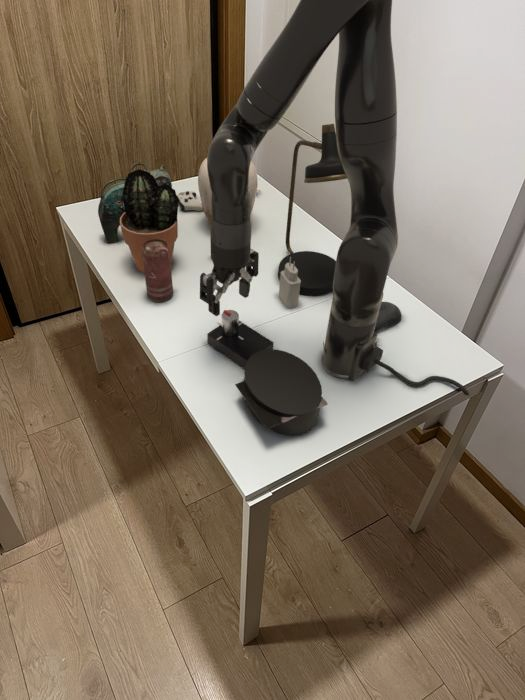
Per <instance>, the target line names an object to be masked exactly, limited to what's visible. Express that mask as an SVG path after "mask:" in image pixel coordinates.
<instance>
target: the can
mask: <svg viewBox="0 0 525 700" xmlns="http://www.w3.org/2000/svg"><path fill="white" fill-rule="evenodd" d="M142 258H143V266H144V272H143V273H144V281H145V288H146V295H147V297H148V299H149V300H150V301H152V302H154V303H165V302H168V301H170V300H171V298H172V297H173V296H174V286H173V284H174V283H173V274H172V263H171V262H170V251H169V246H168V245H167V243H166V242H165V241H163V240H160V239H152V240H148V241H146V242H145V243H144V244H143V247H142Z"/></svg>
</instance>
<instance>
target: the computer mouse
mask: <svg viewBox="0 0 525 700" xmlns="http://www.w3.org/2000/svg"><path fill="white" fill-rule="evenodd" d="M401 320H402V312H401V309H400V308H399V306H397V305H396V304H394V303H392V302H389V301H382V303H381V306H380V310H379V314H378V318H377V322H376V326H375V330H374V332H375V333H377V332H379V331H381V330H384V329H385V328H389V327H393V326H395V325H397V324H398V323H400V322H401ZM379 340H380V338H379V337H377V338H376V342H375V345H377V343H378V341H379Z"/></svg>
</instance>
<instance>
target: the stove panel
mask: <svg viewBox="0 0 525 700" xmlns="http://www.w3.org/2000/svg"><path fill="white" fill-rule="evenodd" d="M216 324H217V325H218V326H217V327H215V328H213V329H212V330H211V331H209V332H208V333H207V334H206V338H207V339H206V340H207V341H206V342H207V345H208V346H210V347H211V348H213V349H215V350H216V351H217V352H219V353H220V354H222V355H223V356H224V357H226V358H227V359H229V360H230V361H232V362H233V363H235V364H236V365H238V366H239V367H241V368H242V369H244V370H245V365H246V362H247V361H248V359H249V358H250V357H251V356H252V355H253V354H255V353H256V352H258V351H262V350H268V349H274V342H273V341H272V340H270V339H269V338H268V337H266V336H265V335H263V334H261V333H260V332H258V331H257V330H255V329H254V328H252V327H250V326H248V325H247V324H245V322H243V321H241V320H239V331H238V334H237V335H235V336H232V337H228V336H225V335H224V334H223V333H222V323H220V322H219V321H217V322H216Z"/></svg>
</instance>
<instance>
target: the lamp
mask: <svg viewBox="0 0 525 700" xmlns="http://www.w3.org/2000/svg"><path fill="white" fill-rule="evenodd" d="M301 146H307V147H310V148H313V149H316V150H321V156H320V160H319V161H318V162H315V163H313V164H309V165H307V166H305V169H304V181H303V183H305V184H316V183H317V184H318V183H328V182H334V181H340V180H348V178H347V176H346V173H345V171H344V169H343V166H342V163H341V160H340V157H339V153H338V148H337V140H336V126H335V123H329V124H322V125H321V142H319V141H310V140H305V139H300V140H298V141H297V142H296V144H295V146H294V149H293V153H292V155H293V156H292V164H291V165H292V166H291V176H290V187H289V198H288V206H287V207H288V208H287V219H286V231H285V247H286V250H287V252H288V253H289V254H287V255H285V257H283V258H282V259H281V260H280V262H279V263H278V270H277V278H278V281H279V282H280V275H281V271H284V270H285V265H286V263H289V261H290V257H291V263H292V264H293V263H294V261H295V264H294V266H295V267H296V268H297V269H298V275H297V276H298V278H299V279H300V280H301V283H300V291H299V295H300V296H307V297H319V296H325V295H328V294H331V293H334V292H333V279H334V272H335V265H336V259H334V258H333V257H331V256H329V255H327V254H325V253H321V252H318V251H313V250H312V251H311V250H302V251H295V252H294V251H293V250H292V248H291V247H292V246H291V241H290V238H291V230H292V229H291V227H292V218H293V206H294V197H295V185H296V177H297V175H296V174H297V165H298V157H299V150H300V147H301Z"/></svg>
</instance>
